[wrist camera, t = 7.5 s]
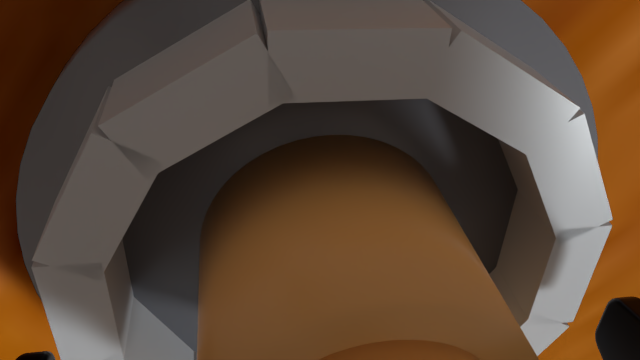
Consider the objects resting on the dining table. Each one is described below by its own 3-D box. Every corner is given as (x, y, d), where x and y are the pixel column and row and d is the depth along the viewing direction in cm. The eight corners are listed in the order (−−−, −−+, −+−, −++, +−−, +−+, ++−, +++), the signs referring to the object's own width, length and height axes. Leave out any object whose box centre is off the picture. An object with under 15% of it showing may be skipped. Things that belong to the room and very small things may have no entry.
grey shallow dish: (506, 359, 16) (551, 443, 14) (90, 404, 14) (70, 507, 12) (648, -67, 10) (765, -32, 8) (-53, -76, 8) (-145, -35, 6)
